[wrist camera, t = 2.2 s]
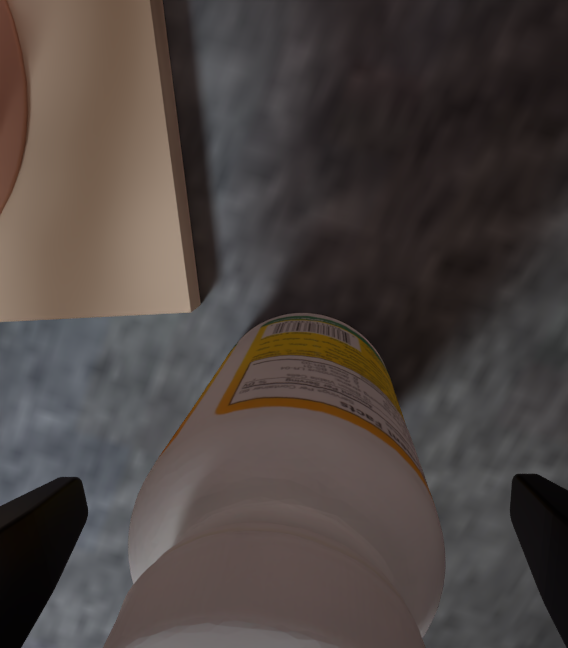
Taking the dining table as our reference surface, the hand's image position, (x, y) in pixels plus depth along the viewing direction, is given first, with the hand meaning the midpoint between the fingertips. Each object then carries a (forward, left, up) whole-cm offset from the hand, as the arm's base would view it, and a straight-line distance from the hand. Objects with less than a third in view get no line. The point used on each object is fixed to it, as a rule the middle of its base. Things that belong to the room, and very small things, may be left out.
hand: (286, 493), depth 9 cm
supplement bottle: (0, 0, -5) cm, 5 cm away
